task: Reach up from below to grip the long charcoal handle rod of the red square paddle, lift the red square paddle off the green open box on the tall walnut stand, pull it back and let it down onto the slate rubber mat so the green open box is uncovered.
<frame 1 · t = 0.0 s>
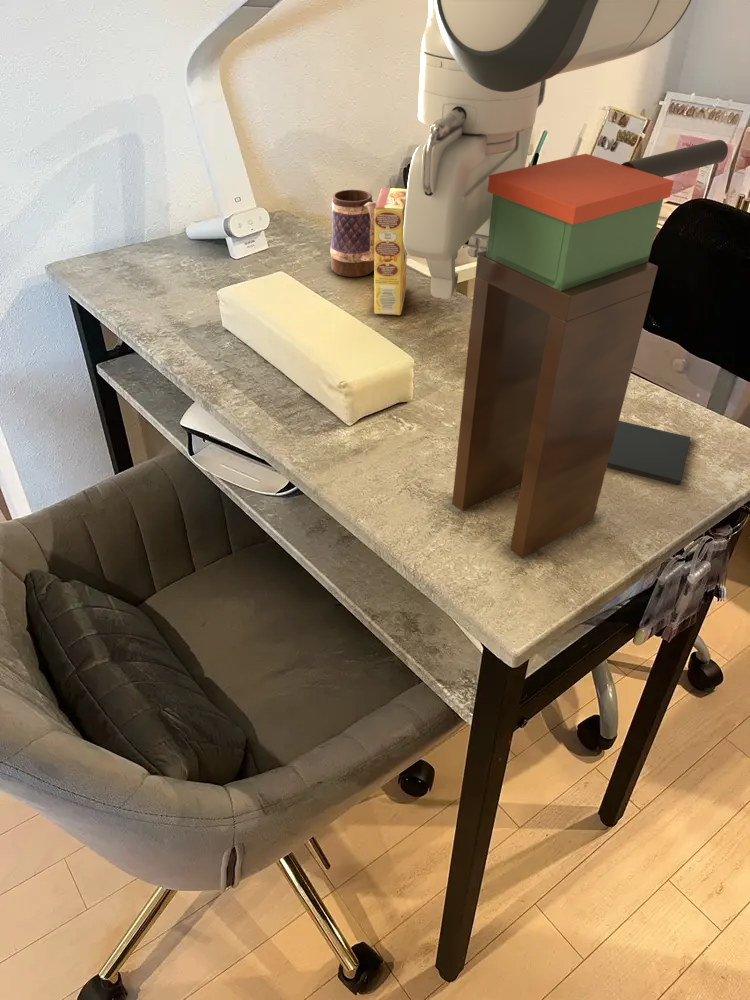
hand: (462, 274, 66), 23 cm above the table, tool pointing down, fingers open, 8 cm apart
green open box: (566, 259, 61), resting on stand
stand: (522, 510, 77), on the table
red square paddle: (578, 194, 58), point 31 cm above the table, touching green open box
candy box: (389, 303, 115), on the table
mat: (638, 451, 86), on the table
mug: (357, 273, 123), on the table
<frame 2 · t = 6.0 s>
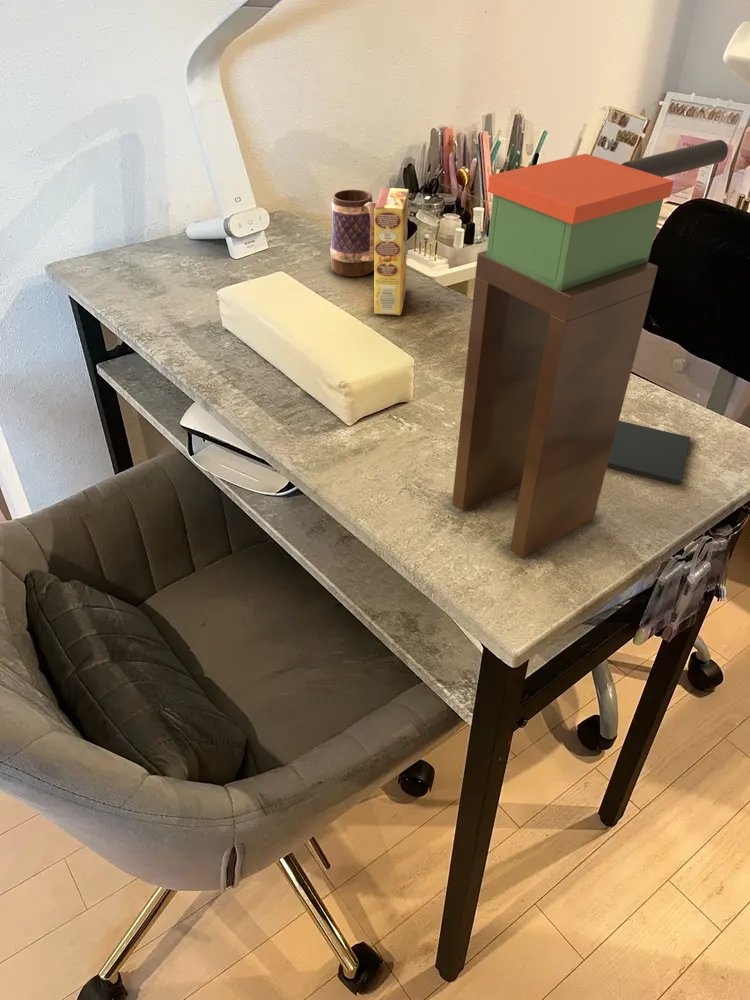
nothing on the table moved.
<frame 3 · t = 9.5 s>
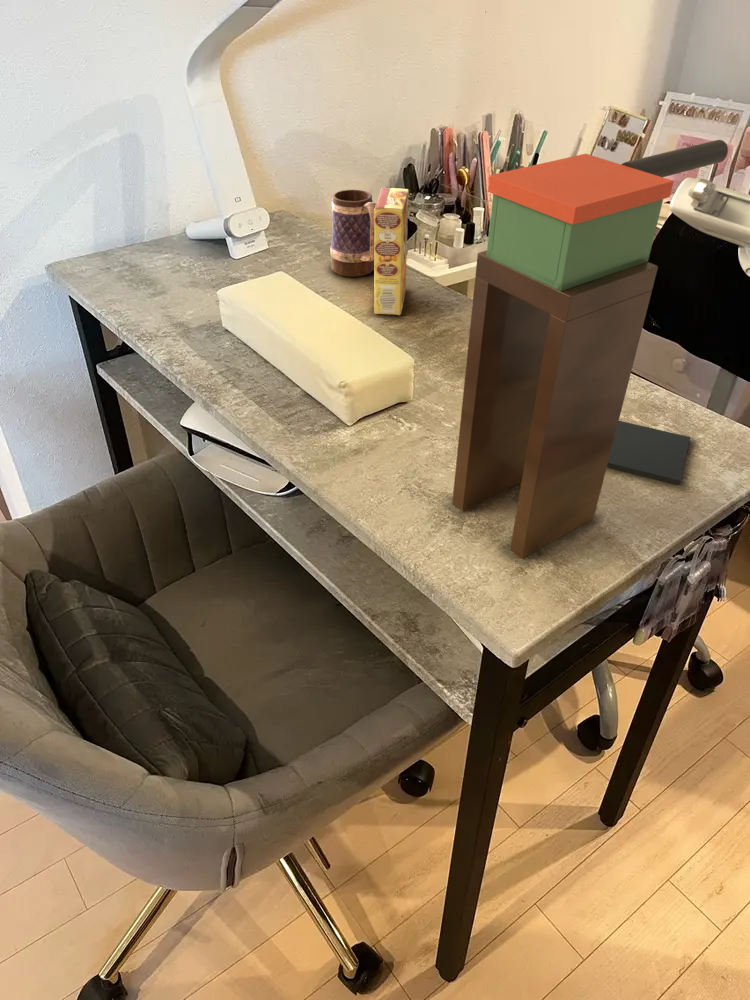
hand: (741, 199, 71), 27 cm above the table, tool pointing upward, fingers open, 8 cm apart
nothing on the table moved.
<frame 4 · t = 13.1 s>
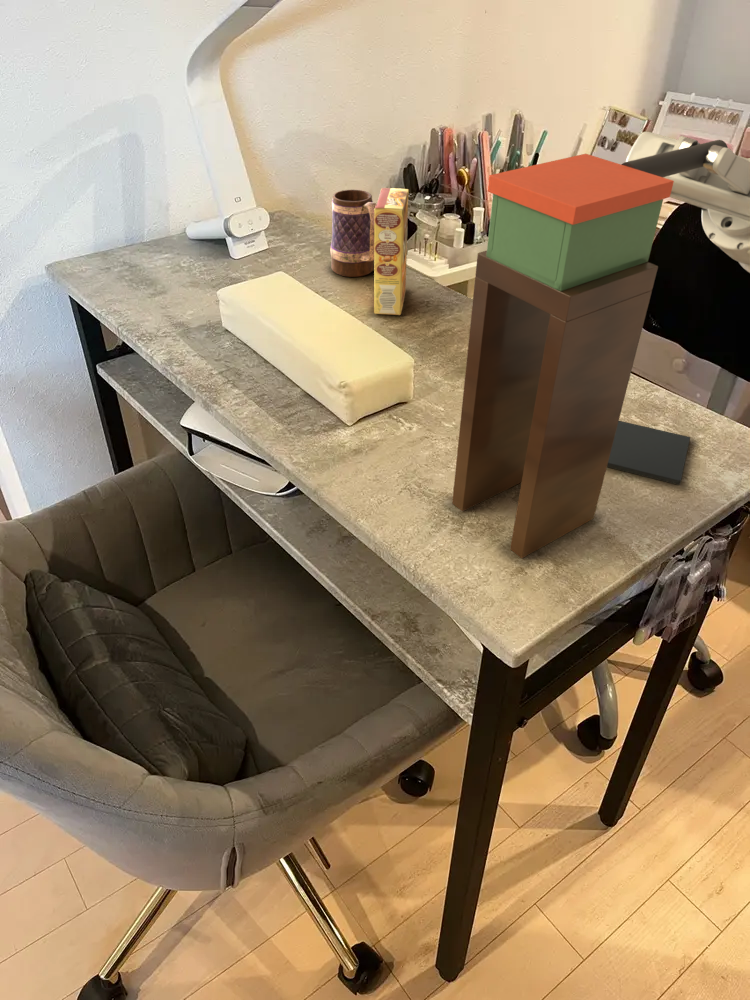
hand: (698, 151, 64), 32 cm above the table, tool pointing upward, fingers closed on red square paddle, 2 cm apart
red square paddle: (578, 194, 58), point 31 cm above the table, touching gripper, green open box
everything else where it was.
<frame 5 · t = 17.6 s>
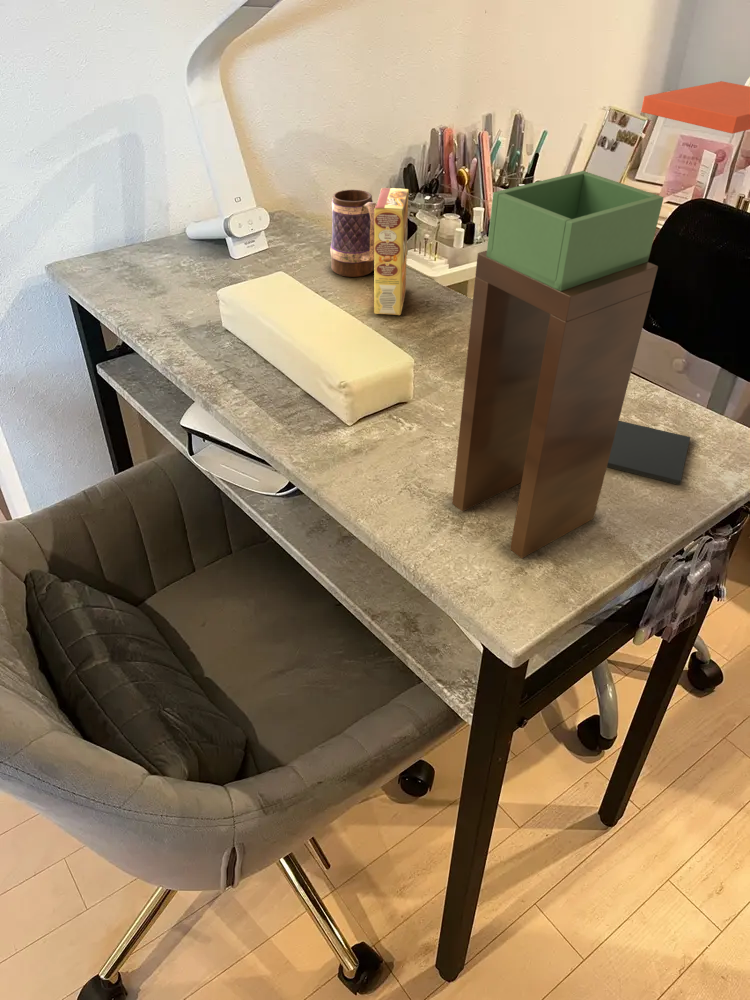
red square paddle: (724, 113, 63), point 35 cm above the table, touching gripper
everything else where it was.
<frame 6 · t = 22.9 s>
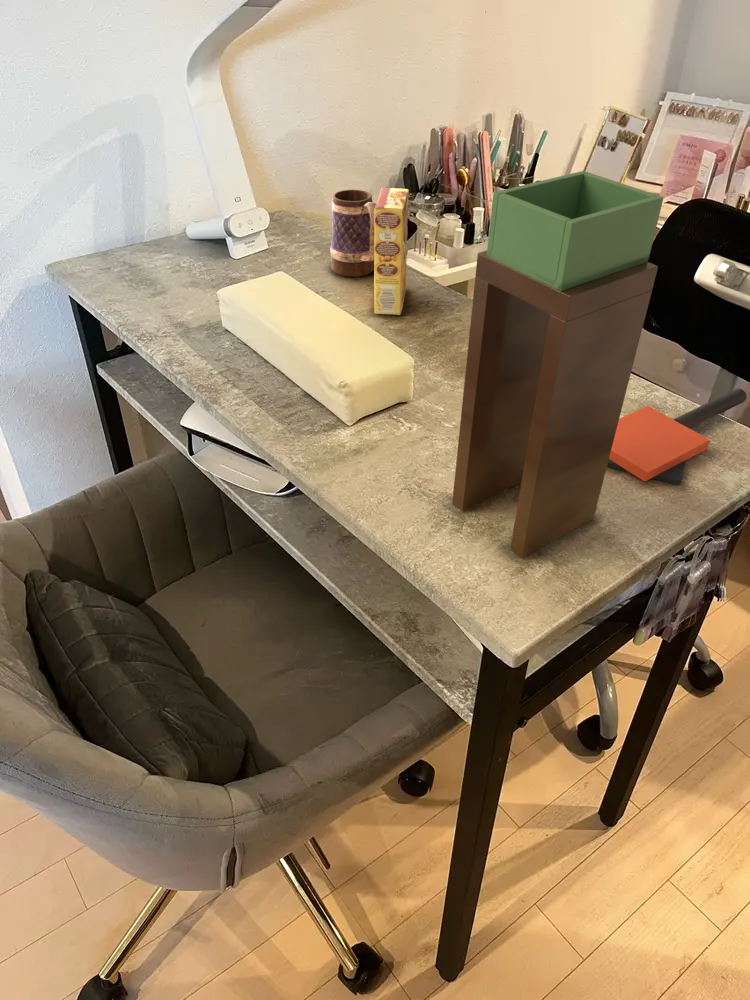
red square paddle: (645, 445, 85), point 1 cm above the table, touching mat
everything else where it was.
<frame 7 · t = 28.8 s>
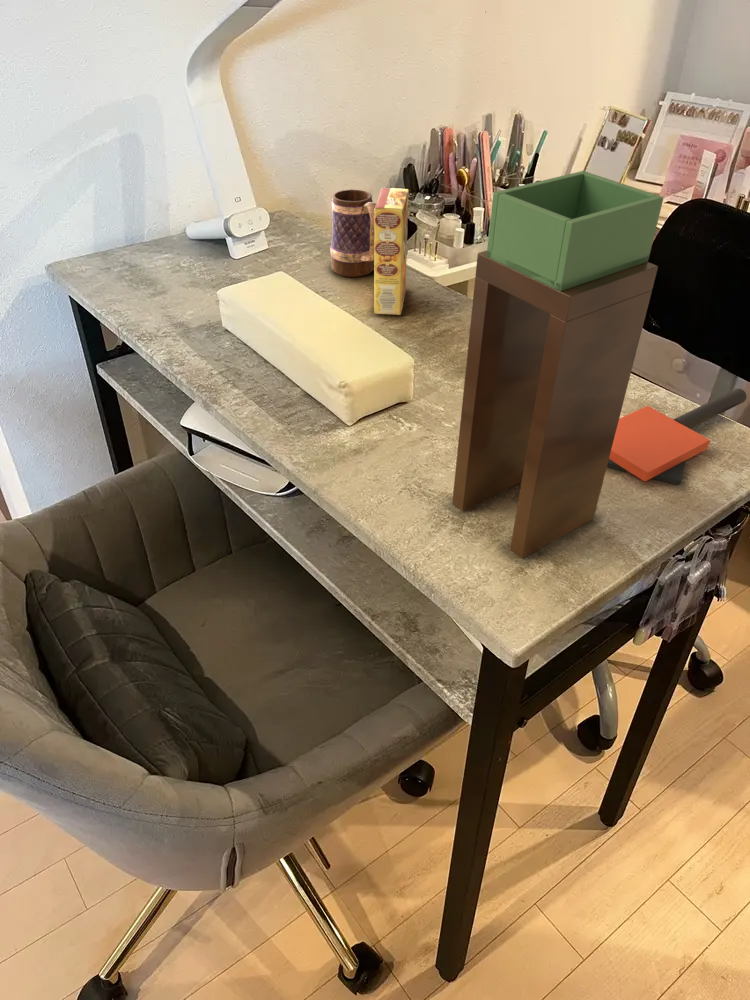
nothing on the table moved.
at the end: red square paddle 0.7 cm from the mat (horizontally); red square paddle point 0.6 cm above the table; red square paddle touching mat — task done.
